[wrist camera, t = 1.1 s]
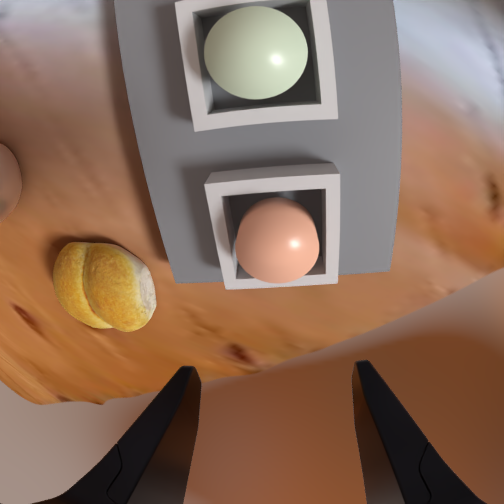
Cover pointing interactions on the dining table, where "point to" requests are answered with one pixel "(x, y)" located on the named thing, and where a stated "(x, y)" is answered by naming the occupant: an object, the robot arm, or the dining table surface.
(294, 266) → the terracotta button
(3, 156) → the plastic bottle
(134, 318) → the bread roll
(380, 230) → the panel
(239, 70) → the sage button
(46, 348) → the dining table surface
